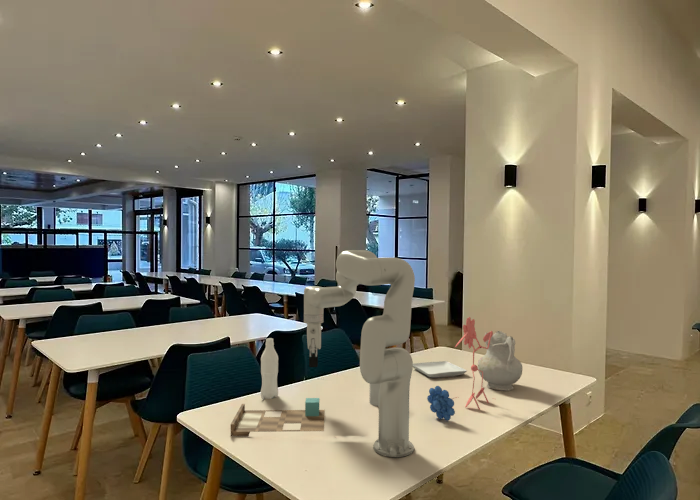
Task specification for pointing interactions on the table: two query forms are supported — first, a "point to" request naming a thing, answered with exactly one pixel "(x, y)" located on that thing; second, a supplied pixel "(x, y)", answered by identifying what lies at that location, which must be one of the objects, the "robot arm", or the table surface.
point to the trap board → (273, 421)
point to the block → (312, 407)
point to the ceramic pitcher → (500, 363)
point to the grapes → (441, 403)
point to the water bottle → (269, 370)
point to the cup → (374, 394)
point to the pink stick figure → (469, 336)
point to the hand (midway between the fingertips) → (313, 365)
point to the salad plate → (439, 369)
